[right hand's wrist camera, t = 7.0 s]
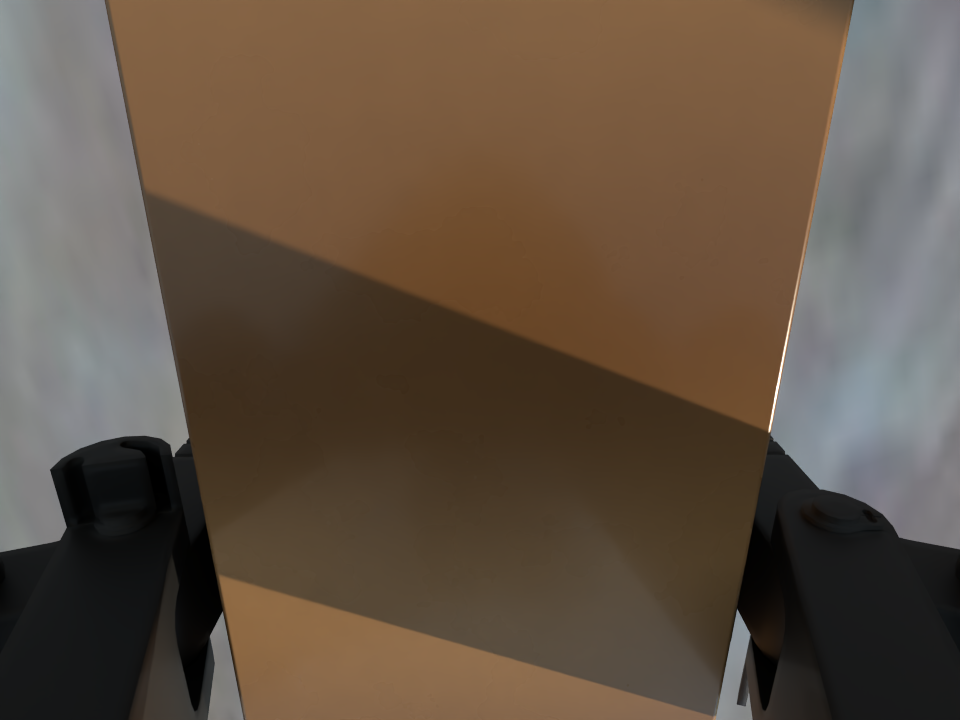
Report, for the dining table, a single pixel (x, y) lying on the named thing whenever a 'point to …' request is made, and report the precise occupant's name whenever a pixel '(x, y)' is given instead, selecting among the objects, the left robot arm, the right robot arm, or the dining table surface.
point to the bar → (479, 332)
